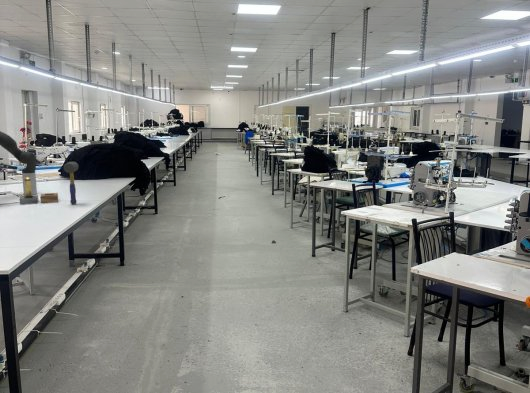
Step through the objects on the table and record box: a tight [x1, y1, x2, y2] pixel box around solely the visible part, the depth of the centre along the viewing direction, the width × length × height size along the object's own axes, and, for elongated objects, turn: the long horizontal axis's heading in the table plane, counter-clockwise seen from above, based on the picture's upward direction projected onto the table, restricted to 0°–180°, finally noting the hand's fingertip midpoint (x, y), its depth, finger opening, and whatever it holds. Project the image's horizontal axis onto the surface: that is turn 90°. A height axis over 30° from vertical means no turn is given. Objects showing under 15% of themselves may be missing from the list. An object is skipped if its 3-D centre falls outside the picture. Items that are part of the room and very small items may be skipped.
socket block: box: [18, 194, 40, 205], centre depth 306 cm, size 12×11×4 cm
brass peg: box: [24, 177, 33, 198], centre depth 305 cm, size 4×4×18 cm
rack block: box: [40, 192, 59, 204], centre depth 311 cm, size 12×11×5 cm
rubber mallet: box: [63, 161, 79, 206], centre depth 300 cm, size 12×8×30 cm, turn 9°
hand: (16, 168), depth 300 cm, fingers open, 8 cm apart
